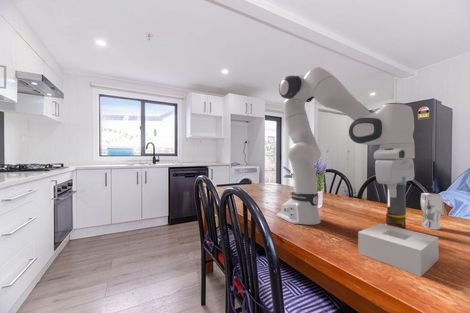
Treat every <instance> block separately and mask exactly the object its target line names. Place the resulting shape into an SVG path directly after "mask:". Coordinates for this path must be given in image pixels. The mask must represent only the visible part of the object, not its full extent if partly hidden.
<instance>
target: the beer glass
mask: <svg viewBox="0 0 470 313" xmlns="http://www.w3.org/2000/svg"><path fill="white" fill-rule="evenodd" d="M442 198H443V197H442V194H439V193H431V192H421V193H420V208H421V214H422V223H421V227H422V228H424V229H427V230H434V231H439V230H441V229H442V228H441V224H440V220H441V214H442V209H443V199H442Z"/></svg>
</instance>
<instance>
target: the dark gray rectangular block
mask: <svg viewBox="0 0 470 313" xmlns="http://www.w3.org/2000/svg"><path fill="white" fill-rule="evenodd" d="M405 184H406V185H407V181H406V176H405V177H402V182H400V183H397V186H396V190H397V192H398V196H397V197H390V213H391V214H395V215H405V216H406V214H407V213H406V212H407V211H406V209H407V208H406V207H407V206H406V205H407V203H406V201H407V200H406V198H407V197H406V196H407V195H406V187H405Z"/></svg>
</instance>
